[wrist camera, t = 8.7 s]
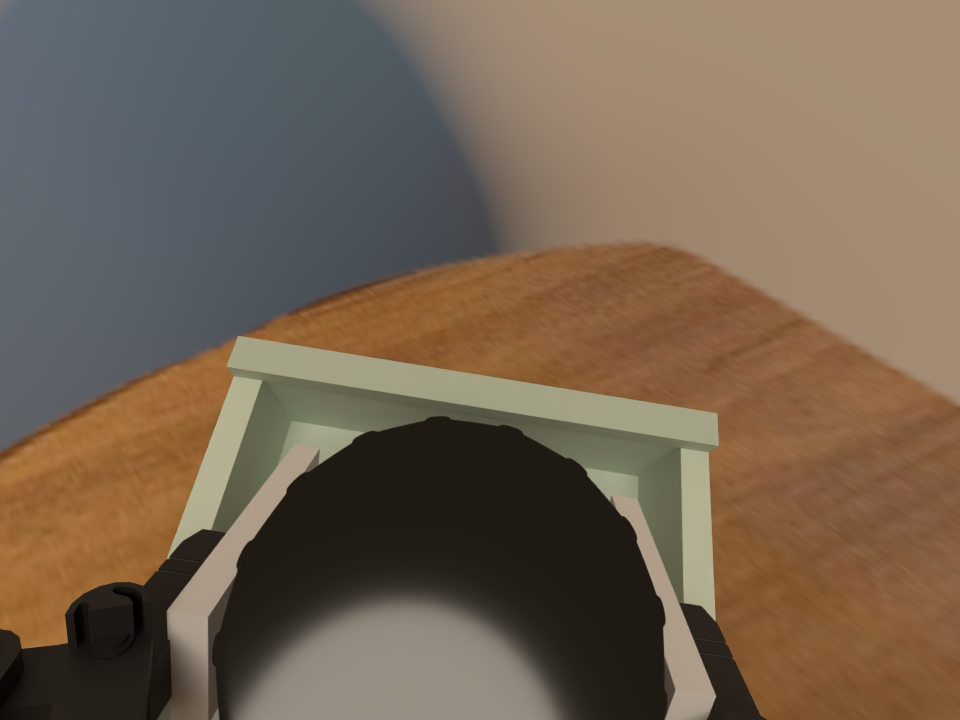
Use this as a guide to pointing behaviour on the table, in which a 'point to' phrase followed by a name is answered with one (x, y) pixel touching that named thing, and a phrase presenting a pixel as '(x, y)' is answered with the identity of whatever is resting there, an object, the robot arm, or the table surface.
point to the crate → (467, 397)
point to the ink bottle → (442, 590)
